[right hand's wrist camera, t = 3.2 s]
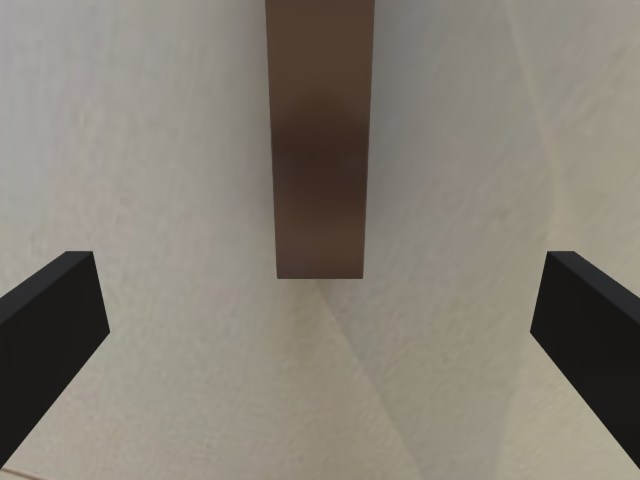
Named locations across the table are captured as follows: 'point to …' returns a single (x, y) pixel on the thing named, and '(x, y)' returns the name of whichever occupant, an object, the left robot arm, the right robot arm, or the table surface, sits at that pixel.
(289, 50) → the beam
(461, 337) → the table surface
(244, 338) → the table surface
